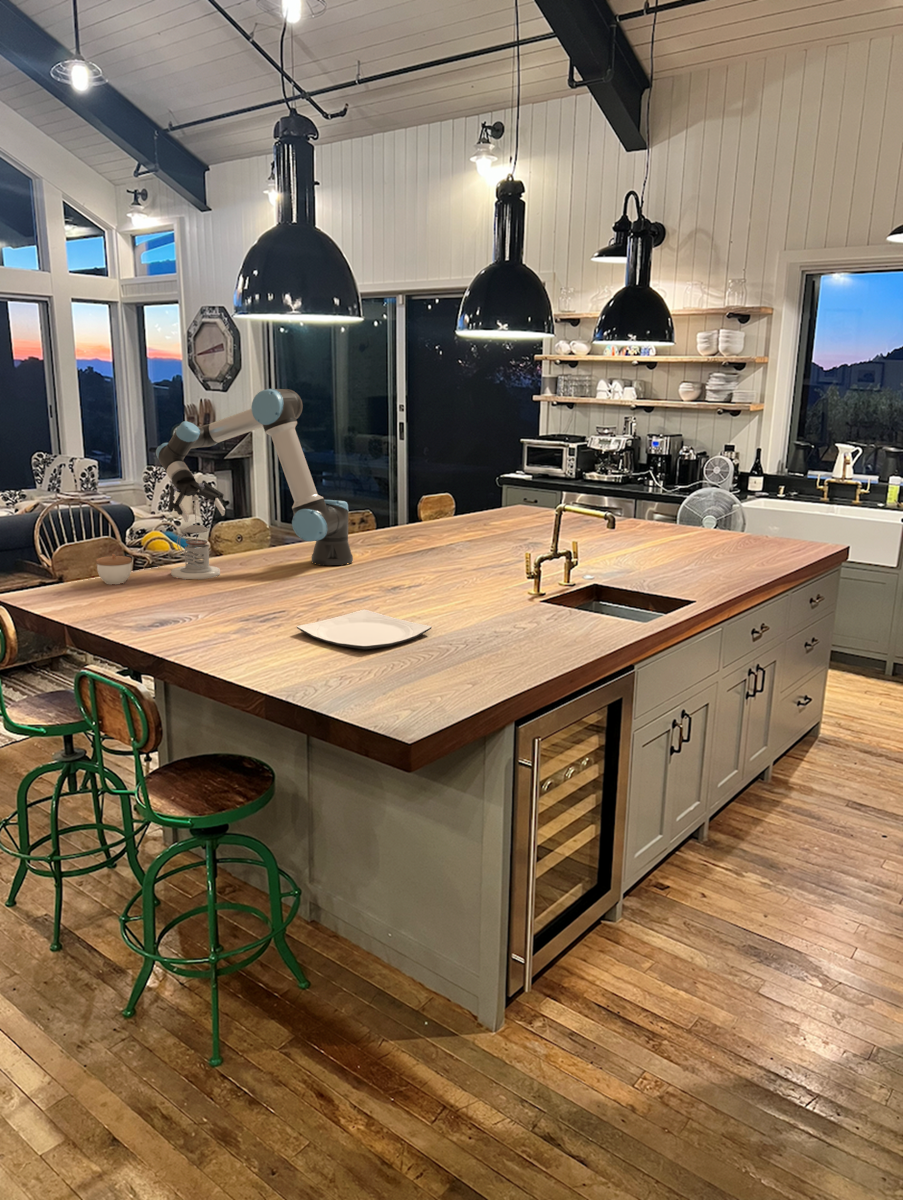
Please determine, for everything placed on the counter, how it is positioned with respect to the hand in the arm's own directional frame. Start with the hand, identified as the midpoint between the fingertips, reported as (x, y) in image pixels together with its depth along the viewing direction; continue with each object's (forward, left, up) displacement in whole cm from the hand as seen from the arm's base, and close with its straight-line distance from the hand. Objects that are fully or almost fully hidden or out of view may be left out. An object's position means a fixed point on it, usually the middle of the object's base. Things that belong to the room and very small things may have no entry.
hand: (205, 516), depth 321 cm
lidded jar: (+1, +37, -18) cm, 41 cm away
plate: (-99, +29, -18) cm, 104 cm away
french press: (-8, +12, -16) cm, 21 cm away
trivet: (-8, +11, -18) cm, 23 cm away
